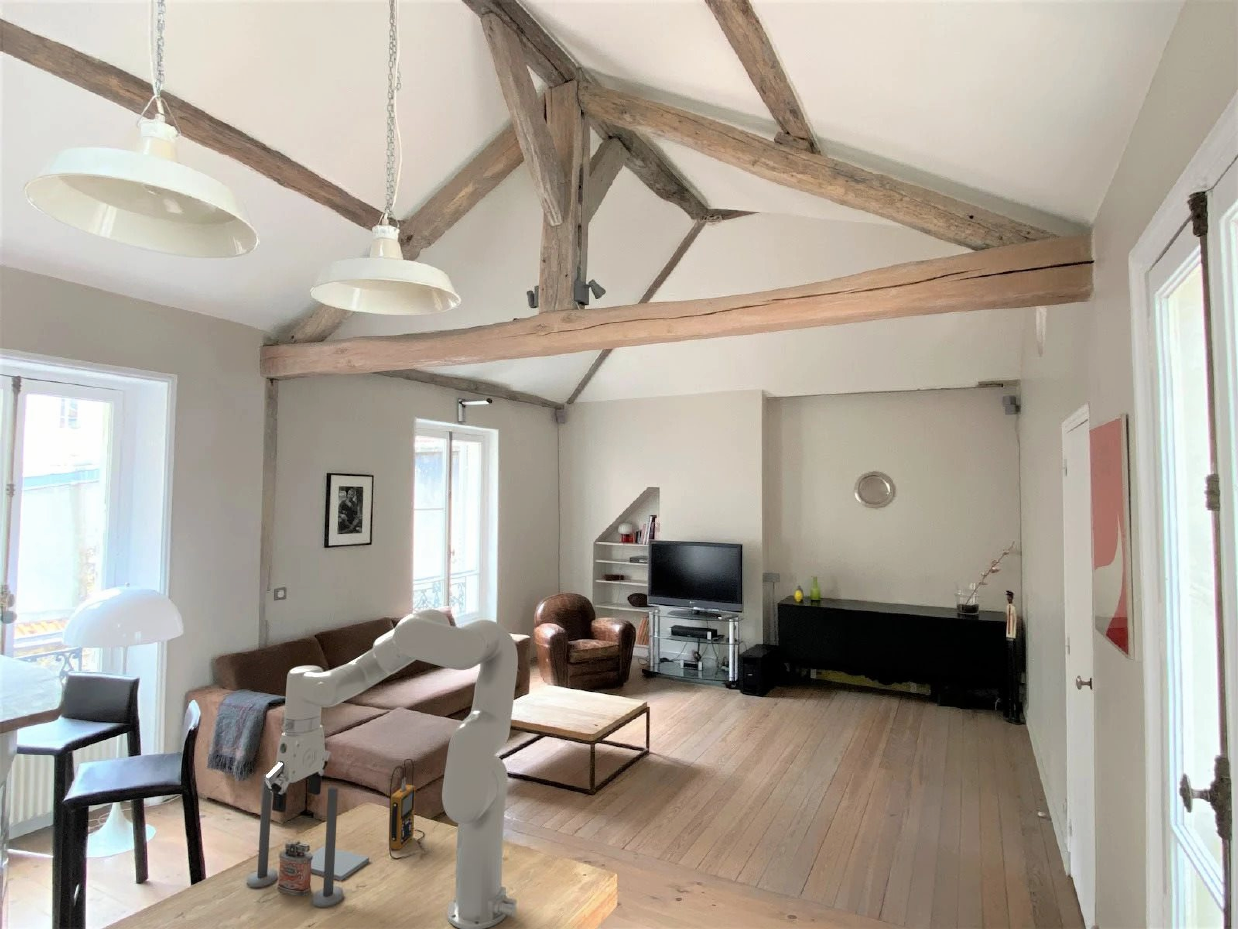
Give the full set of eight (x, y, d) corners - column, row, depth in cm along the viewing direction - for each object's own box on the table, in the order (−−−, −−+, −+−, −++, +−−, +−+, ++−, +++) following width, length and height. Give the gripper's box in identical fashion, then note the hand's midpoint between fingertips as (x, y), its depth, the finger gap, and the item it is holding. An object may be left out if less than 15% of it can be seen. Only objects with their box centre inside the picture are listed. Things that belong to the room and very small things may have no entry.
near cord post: (349, 894, 143) (354, 785, 145) (328, 910, 138) (333, 796, 139) (327, 888, 145) (332, 781, 147) (306, 903, 140) (311, 792, 142)
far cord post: (283, 876, 150) (288, 772, 152) (260, 890, 144) (266, 782, 146) (263, 871, 152) (269, 768, 154) (240, 884, 146) (246, 778, 148)
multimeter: (418, 863, 157) (421, 776, 158) (380, 857, 159) (383, 772, 160) (446, 833, 171) (449, 755, 173) (411, 829, 173) (414, 751, 175)
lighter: (273, 890, 144) (276, 843, 145) (285, 882, 148) (287, 836, 148) (303, 897, 142) (305, 849, 143) (314, 888, 145) (317, 842, 146)
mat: (369, 861, 157) (369, 857, 157) (341, 881, 149) (341, 876, 149) (323, 850, 162) (323, 846, 162) (293, 868, 153) (294, 863, 154)
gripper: (283, 738, 138) (277, 822, 137) (343, 715, 154) (339, 790, 153) (256, 732, 141) (250, 815, 140) (319, 710, 157) (314, 784, 156)
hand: (296, 802), depth 146 cm, fingers open, 9 cm apart
